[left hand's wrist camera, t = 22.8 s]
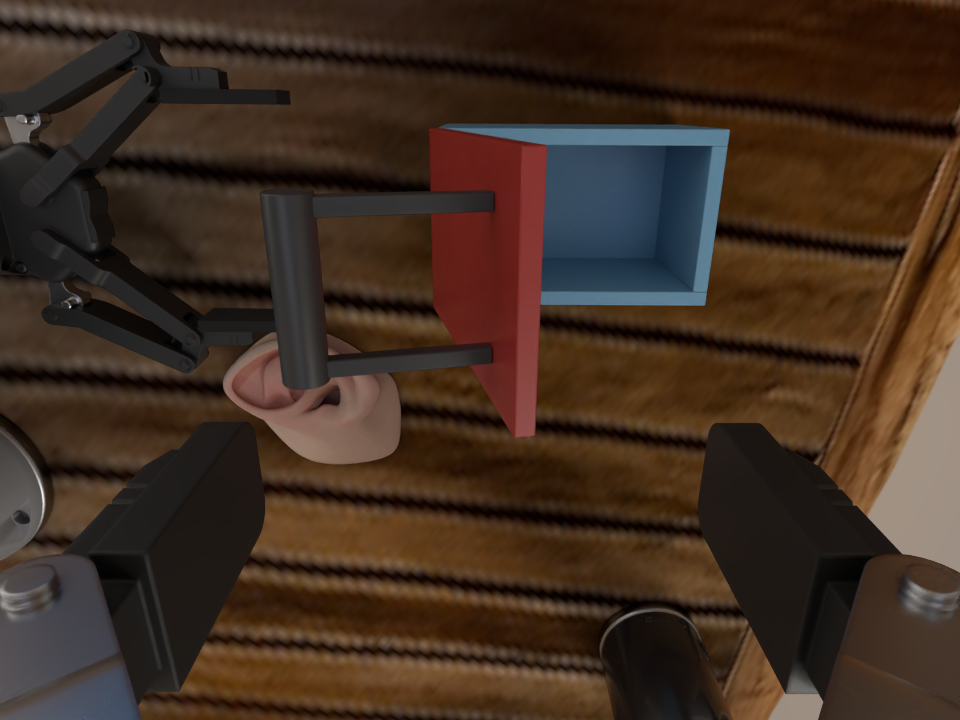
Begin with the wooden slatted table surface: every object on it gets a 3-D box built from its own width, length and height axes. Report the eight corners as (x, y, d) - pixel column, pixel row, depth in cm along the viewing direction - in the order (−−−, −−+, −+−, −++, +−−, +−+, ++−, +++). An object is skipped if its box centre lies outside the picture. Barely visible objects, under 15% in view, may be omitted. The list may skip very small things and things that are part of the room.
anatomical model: (421, 466, 48) (289, 514, 50) (425, 440, 52) (302, 486, 54) (340, 312, 44) (198, 372, 46) (351, 296, 48) (219, 352, 49)
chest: (677, 124, 43) (730, 129, 34) (661, 267, 47) (705, 305, 38) (446, 123, 43) (437, 127, 34) (448, 266, 47) (440, 304, 38)
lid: (548, 144, 19) (243, 147, 17) (535, 436, 23) (283, 466, 21) (444, 127, 34) (274, 128, 32) (446, 306, 38) (294, 316, 36)
